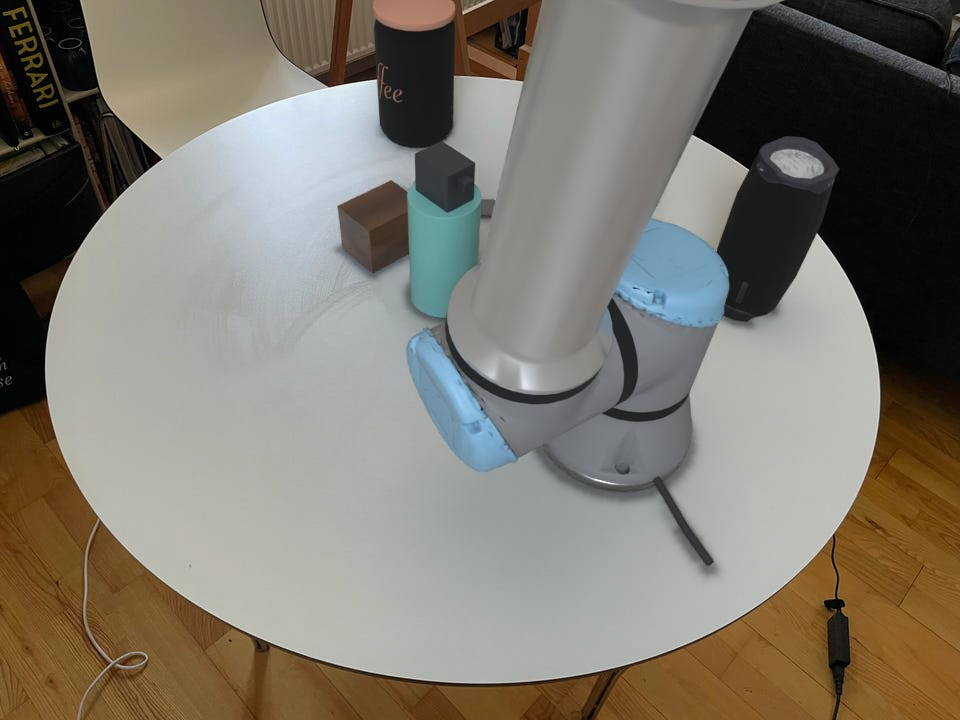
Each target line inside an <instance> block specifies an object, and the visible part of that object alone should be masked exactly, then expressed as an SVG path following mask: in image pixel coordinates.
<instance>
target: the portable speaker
mask: <svg viewBox="0 0 960 720" xmlns="http://www.w3.org/2000/svg"><path fill="white" fill-rule="evenodd" d="M839 171H840V167H838V165H837V163H836V162H835V160H834V159H833V158H832V156H830V154H829V153H827V151H826V150H825V149H824V148H823V147H822V146H821V145H820V144H819V143H818V142H816V141H815V140H811V139H809V138H806V137H803V136H790V135H789V136H787V135H785V136H782V137H781V138H778V139H776V140H772V141H770V142H768V143H766V144H763V146H762V147H761V148H760V149H759V151H758V153H757V154H756V156H755V157H754V160H753V162H752V163H751V166H750V167H749V170H748V171H747V172H746V175H745V177H744V179H743V181H742V182H741V184H740V186H739V188H738V190H737V192H736V194H735V197H734V199H733V202H732V206H731V208H730V211H729V213H728V217H727V220H726V223H725V225H724V228H723V231H722V234H721V237H720V240H719V242H718V245H717V248H716V250H715V251H716V252H717V253H718V255H719V256H720V257H721V259H722V260H723V262H724V264H725V266H726V268H727V271H728V275H729V276H728V279H729V291H728V295H727V298H726V301H725V305H724V314H723V317H724V316H725V318H728V319H731V320H733V321H737V322H745V323H747V322H750V321H751V320H753V319H755V318H760V317H763V316H767V315H768V314H770V313H772V312H773V311H774V310H776V308H777V306H778V305H779V303H780V302H781V300H782V299H783V297H784V296H785V295H786V293H787V291H788V290H789V289H790V286H792V284H793V282H794V281H795V279H796V278H797V276H798V274H799V272H800V270H801V267H802V265H803V263H804V262H805V259H806V257H807V255H808V254H809V252H810V249H811V247H812V245H813V243H814V241H815V238H816V236H817V235H818V232H819V230H820V228H821V226H822V223H823V221H824V217H825V213H826V211H827V207H828V204H829V201H830V197H831V194H832V190H833V187H834V183H835V181H836V177H837V175H838V173H839Z"/></svg>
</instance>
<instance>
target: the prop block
mask: <svg viewBox="0 0 960 720" xmlns="http://www.w3.org/2000/svg"><path fill="white" fill-rule="evenodd" d="M407 193H408V190H406V189H405V188H403V187H402V186H400V185H399V184H398V183H396V182H395V181H393V180H392V179H390V180H389V181H387V182H386V181H385V182H383V183H382V184H380V185H378V186H376V187H374V188H372V189H370V190H368V191H365V192H364V193H361V194H358V195H357V196H355V197H352V198H351V199H348V200H347V201H344V202H342V203H340V204H338V205H337V214H338V223H339V233H340V240H341V246H342V247H341V249H342V250H344V252H346V253H347V254H348V255H350V256H351V257H352V258H353V259H354V260H356V261H357V262H358V263H359V264H360V265H361V266H363V267H364V269H367V270H368V271H369V272H370V273H371V274H375V273H376V272H379V271H380V270H382V269H384V268H385V267H388V266H389V265H391V264H393V263H395V262H396V261H398V260H400V259H403V258H404V257H405V256H408V255H409V235H408V205H407Z"/></svg>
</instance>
